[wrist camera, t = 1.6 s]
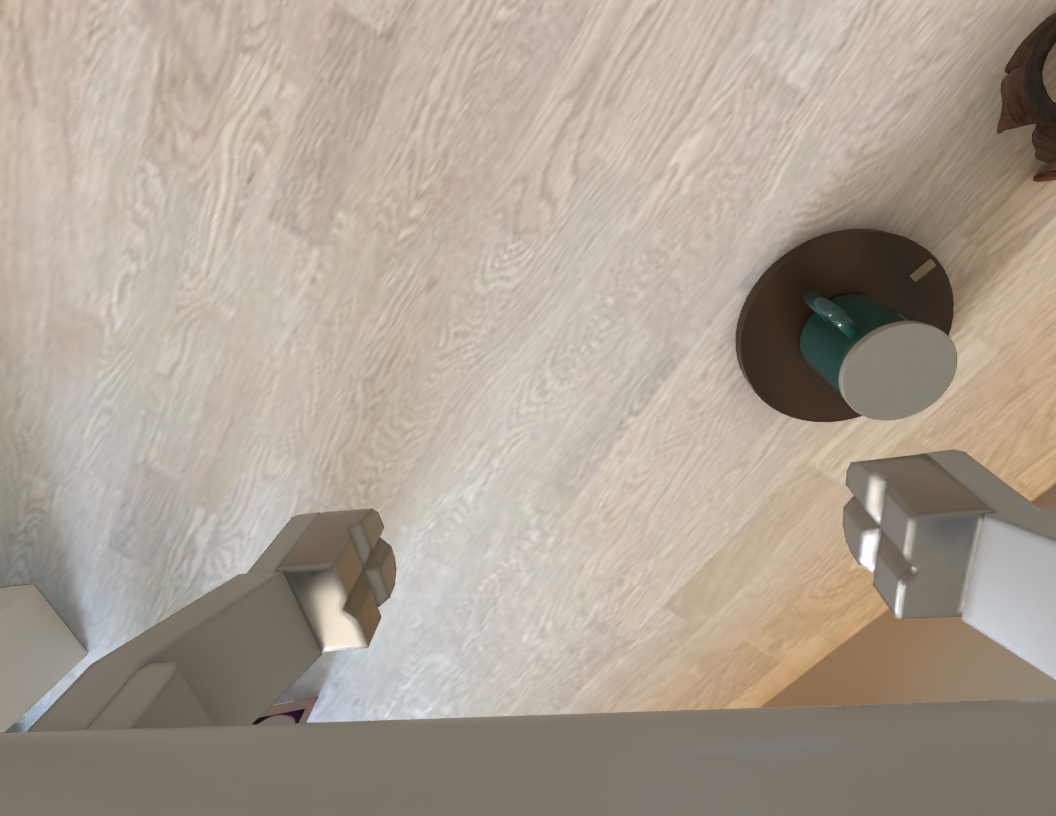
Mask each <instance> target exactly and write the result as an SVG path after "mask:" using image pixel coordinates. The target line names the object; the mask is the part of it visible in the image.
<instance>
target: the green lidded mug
mask: <svg viewBox="0 0 1056 816" xmlns="http://www.w3.org/2000/svg"><path fill="white" fill-rule="evenodd" d="M802 298H803V300H804V301H805V302H806V303H807V304H808V305H809V306H810V308H811V309H812V310H813V311H814V313H813V314H812V315H811V316H810V317H809V319H808V320H807V322H806V324H805V326H804V327H803V330H802V333H801V338H800V349H801V353H802V356H803V358H804V359H805V361H806V362H807V364H808V365H809V366H810V367H811V368H812V369H813V370H814V371H816V372H817V373H818V374H819V375H820V376H821V377H822V378H823V379H824V380H825V381H826V382H827V383H828V384H829V385H830V386H831V387H832V388H833V389H834V390H836V391H837V392H838V393H839V394H840V395H841V396H842V397H843V399H844V400H845V402H846V403H847V404H848V405H849V406H850V407H851V408H852V409H853V410H854V411H856V412H857V413H859V414H860V415H862V416H865V417H867V418H871V419H875V420H897V419H902V418H905V417H909V416H911V415H914V414H916V413H918V412H920V411H922V410H924V409H926V408H927V407H929V406H930V405H931V404H933V403H934V402H935V401H936V400H937V399H939V398H940V397H941V396H942V394H943V393H944V392H945V391H946V390H947V388H948V387H949V385H950V383H951V382H952V380H953V378H954V375H955V372H956V367H957V352H956V349H955V346H954V344H953V342H952V340H951V339H950V338H949V336H948V335H946V334H945V333H944V332H943V331H941V330H940V329H938V328H936V327H934V326H932V325H930V324H928V323H924V322H921V321H919V320H917V319H915V318H913V317H911V316H909V315H907V314H905V313H903V312H901V311H899V310H897V309H895V308H893V307H891V306H889V305H887V304H885V303H883V302H881V301H879V300H877V299H875V298H873V297H871V296H868V295H863V294H848V295H843V296H839V297H837V298H834V299H832V300H828V299H827V298H825V297H823V296H822V295H820V294H819V293H817V292H815V291H813V290H807V291H805V292H804V294H803V297H802Z"/></svg>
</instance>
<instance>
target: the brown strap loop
mask: <svg viewBox="0 0 1056 816" xmlns="http://www.w3.org/2000/svg"><path fill="white" fill-rule="evenodd" d="M1055 42H1056V13H1055V14H1053V15H1051V16H1049V17H1048V18H1047V19H1046V20H1045V21H1043V22H1042V23H1041V24H1040V25H1039V26H1038V27H1037V28H1036V29H1035V30H1034V31H1033V32H1031V33H1030V34H1029V36H1028V37H1027V38H1026V39H1025V40H1024V41H1023V42H1022V43H1021V45H1020V46H1019V47H1018V49H1017V50H1016V51H1015V53H1014V55H1013V56H1012V58H1011V59H1010V61H1009V62H1008V64H1007V66H1006V68H1005V72H1006V73H1007V74H1008V75H1007V76H1006V77H1005V78H1004V79H1003V81H1002V83H1001V95H1002V111H1001V117H1000V120H999V123H998V128H997V133H998V134H999V133H1002V132H1003V131H1005V130H1009V129H1013V128H1017V127H1021V126H1025V125H1029V124H1036V128H1035V130H1034V132H1033V134H1032V143H1033V145H1034V147H1035V149H1036V153H1035V157H1036V158H1037V159H1038V160H1041V161H1044V162H1046V163H1052V162H1055V161H1056V103H1055V102H1053V101H1052V100H1051V98H1050V97H1049V95H1048V94H1047V92H1046V89H1045V86H1044V83H1043V78H1042V70H1043V65H1044V62H1045V60H1046V57H1047V55H1048V53H1049V51H1050V50H1051V48H1052V47H1053V45H1054V44H1055ZM1051 180H1056V170H1051V171H1047V172H1045V173H1042V174H1038V175H1036V176H1035V177H1034V181H1036V182H1041V181H1051Z"/></svg>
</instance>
